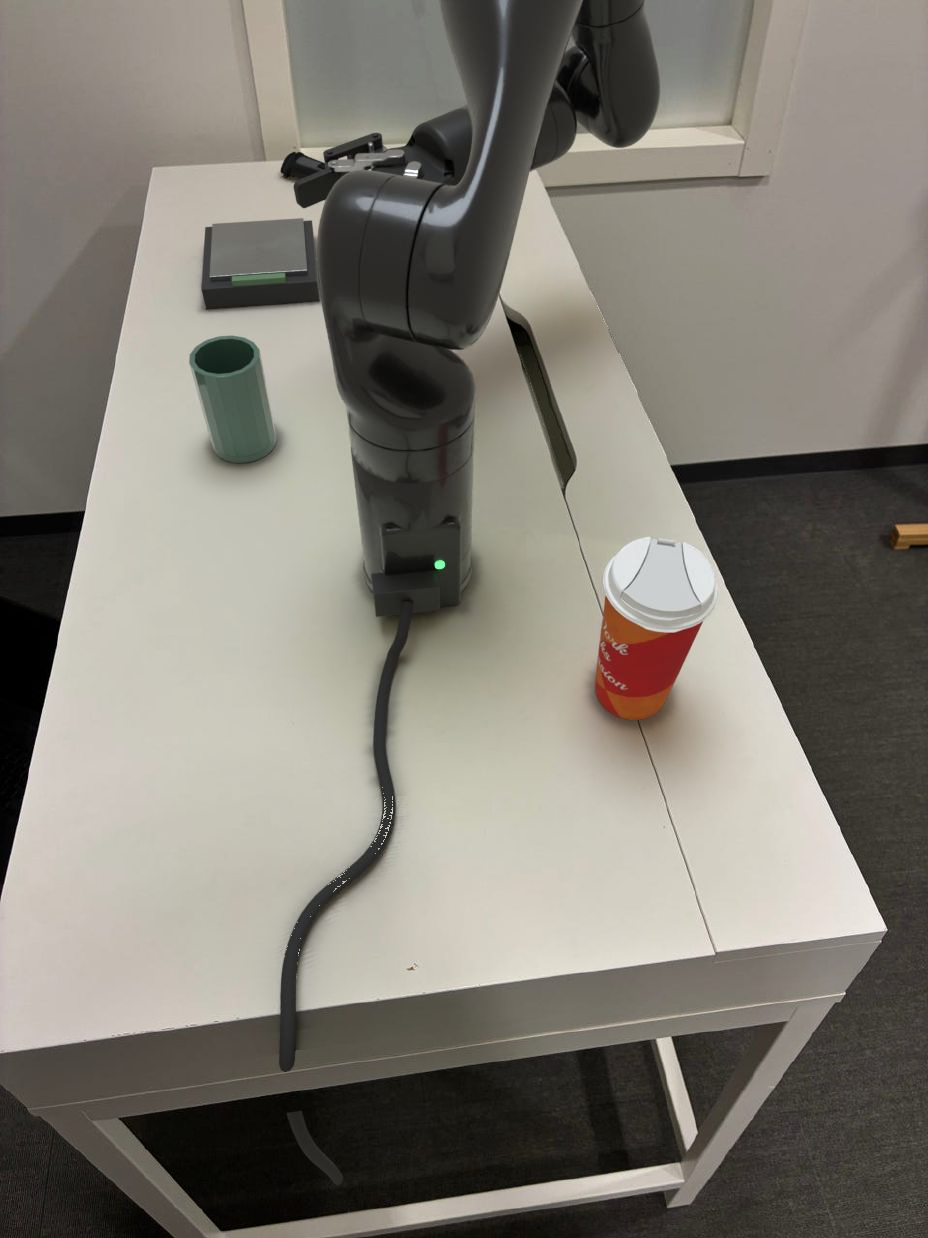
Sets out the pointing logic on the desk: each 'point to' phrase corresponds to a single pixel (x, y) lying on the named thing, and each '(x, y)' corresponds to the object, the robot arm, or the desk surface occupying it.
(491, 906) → the desk surface
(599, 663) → the paper cup
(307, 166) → the electric trimmer
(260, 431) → the tumbler
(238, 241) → the scale
